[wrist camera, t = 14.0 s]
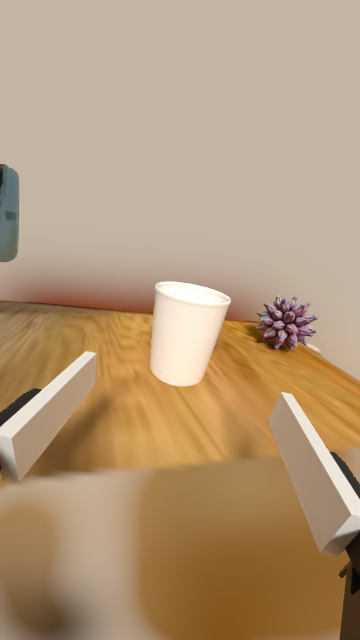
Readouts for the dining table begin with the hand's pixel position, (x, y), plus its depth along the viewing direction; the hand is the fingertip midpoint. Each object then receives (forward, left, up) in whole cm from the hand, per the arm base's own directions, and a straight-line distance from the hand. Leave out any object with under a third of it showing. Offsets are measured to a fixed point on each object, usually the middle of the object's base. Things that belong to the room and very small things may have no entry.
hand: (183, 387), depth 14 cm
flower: (+20, +30, -8) cm, 37 cm away
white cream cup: (-1, +14, -8) cm, 16 cm away
